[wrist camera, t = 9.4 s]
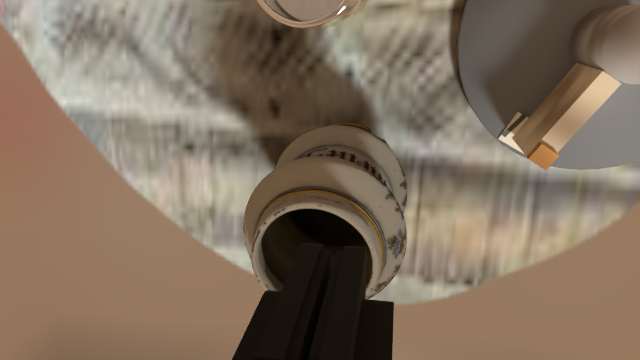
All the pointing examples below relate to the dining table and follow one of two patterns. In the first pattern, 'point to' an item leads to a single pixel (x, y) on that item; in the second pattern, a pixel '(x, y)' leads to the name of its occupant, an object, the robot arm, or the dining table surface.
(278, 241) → the apothecary jar
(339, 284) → the robot arm
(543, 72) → the dial base
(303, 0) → the beer glass
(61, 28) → the dining table surface
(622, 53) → the tan knob handle
